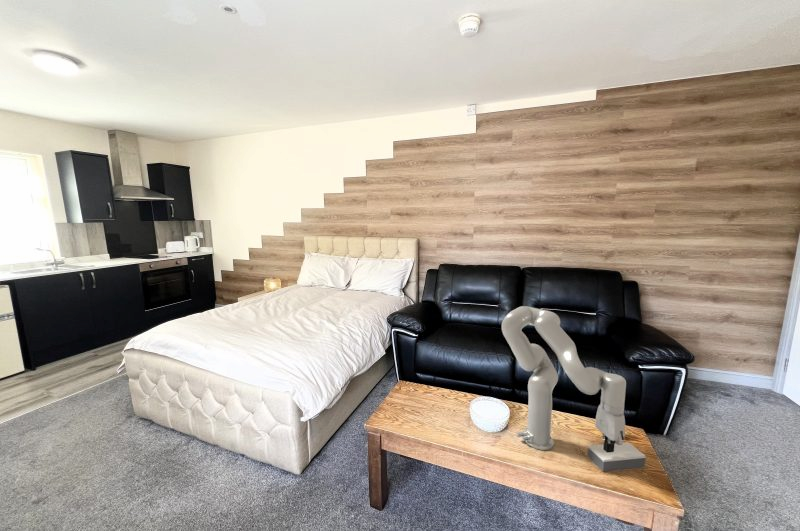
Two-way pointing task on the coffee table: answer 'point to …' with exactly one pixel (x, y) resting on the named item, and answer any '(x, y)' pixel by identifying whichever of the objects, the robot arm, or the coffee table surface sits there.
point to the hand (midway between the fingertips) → (608, 450)
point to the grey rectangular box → (616, 463)
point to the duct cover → (617, 452)
